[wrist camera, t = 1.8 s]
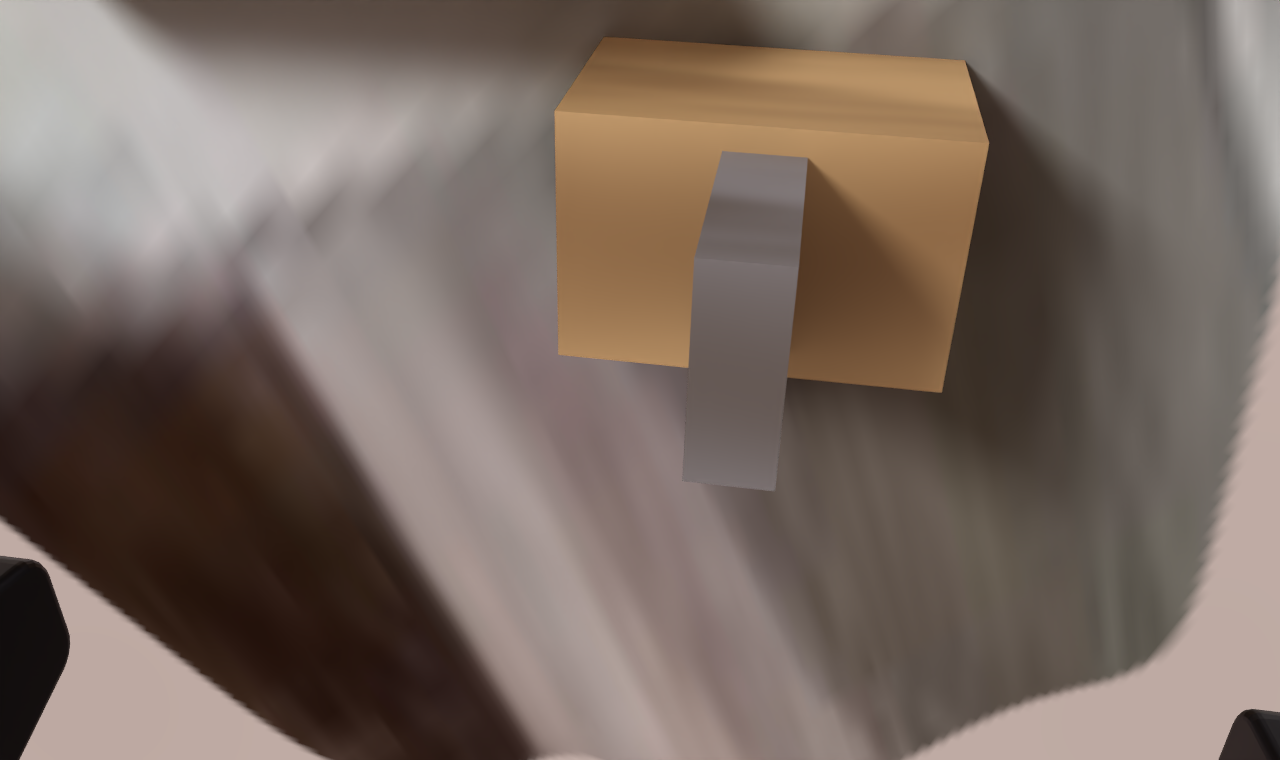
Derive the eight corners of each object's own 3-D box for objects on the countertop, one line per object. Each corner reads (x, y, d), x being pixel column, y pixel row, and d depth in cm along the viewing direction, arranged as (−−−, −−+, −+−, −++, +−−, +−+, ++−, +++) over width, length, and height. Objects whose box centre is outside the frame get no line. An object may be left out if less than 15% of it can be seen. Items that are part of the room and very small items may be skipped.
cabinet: (924, 286, 21) (957, 549, 15) (603, 258, 22) (504, 497, 16) (964, 59, 19) (1021, 253, 13) (604, 34, 20) (489, 208, 13)
